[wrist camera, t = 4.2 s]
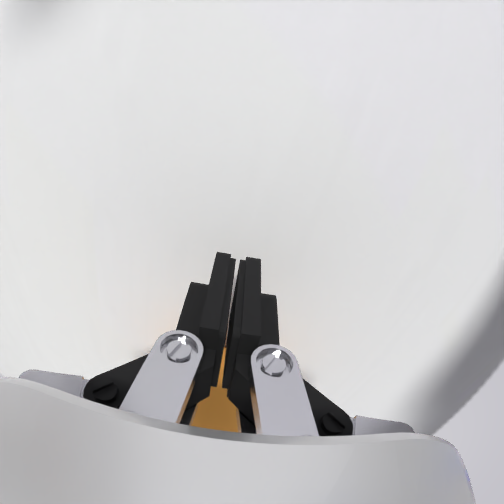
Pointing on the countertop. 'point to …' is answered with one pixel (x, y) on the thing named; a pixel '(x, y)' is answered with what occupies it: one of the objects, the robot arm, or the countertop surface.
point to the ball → (217, 408)
